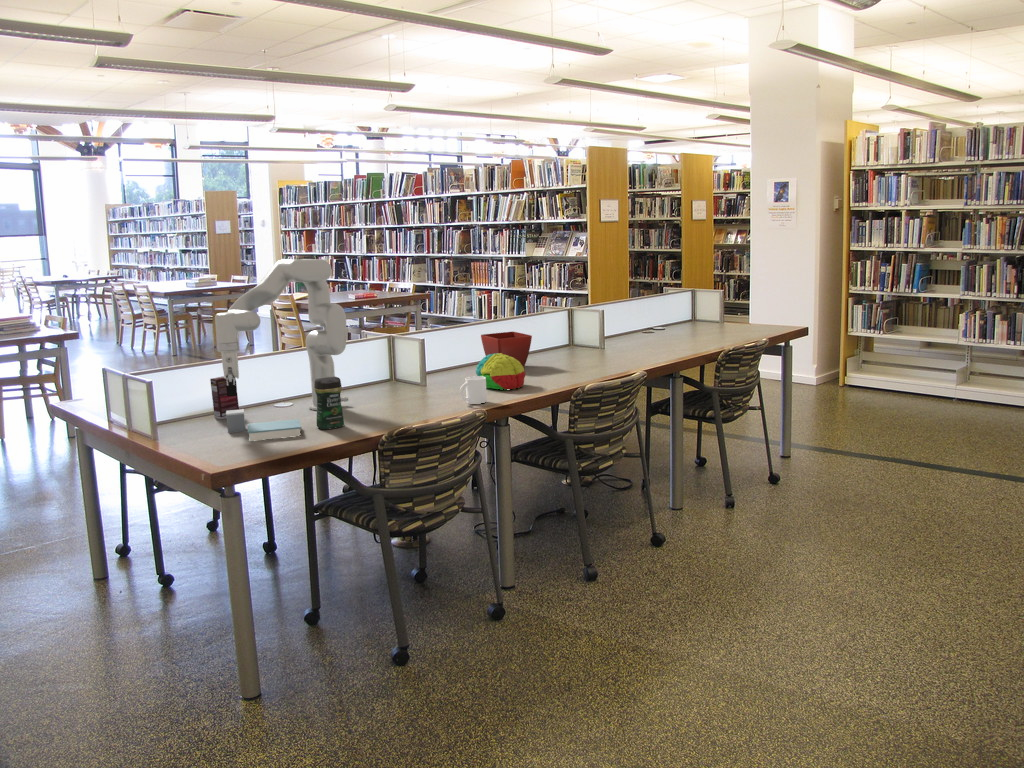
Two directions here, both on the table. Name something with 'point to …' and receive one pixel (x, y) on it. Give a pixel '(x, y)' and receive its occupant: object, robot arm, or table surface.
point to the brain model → (501, 371)
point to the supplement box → (222, 398)
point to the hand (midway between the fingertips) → (232, 393)
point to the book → (274, 429)
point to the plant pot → (508, 345)
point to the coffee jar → (329, 402)
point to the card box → (235, 420)
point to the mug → (474, 390)
